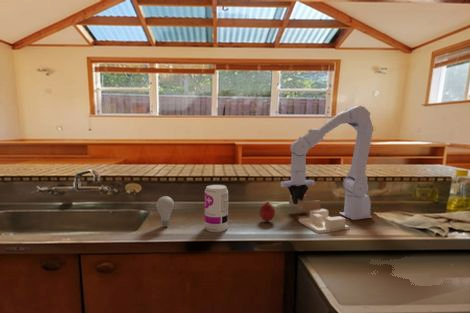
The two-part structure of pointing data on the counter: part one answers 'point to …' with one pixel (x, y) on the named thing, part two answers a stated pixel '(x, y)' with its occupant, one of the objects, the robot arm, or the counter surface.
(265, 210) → the onion
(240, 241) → the counter surface
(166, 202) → the lightbulb
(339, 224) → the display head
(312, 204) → the tan c-shaped bracket
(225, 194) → the supplement can
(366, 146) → the robot arm
